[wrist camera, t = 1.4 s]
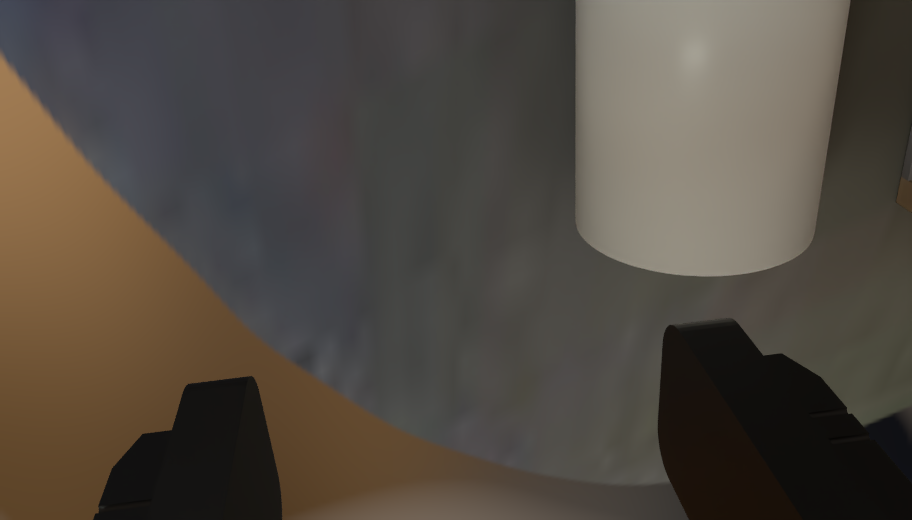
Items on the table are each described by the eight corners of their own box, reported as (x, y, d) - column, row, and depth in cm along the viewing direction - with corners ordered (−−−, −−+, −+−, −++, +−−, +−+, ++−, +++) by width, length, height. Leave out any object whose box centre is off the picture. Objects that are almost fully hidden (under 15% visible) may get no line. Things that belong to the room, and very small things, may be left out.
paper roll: (550, -142, 23) (618, -130, 17) (790, -161, 24) (941, -156, 17) (554, 189, 28) (608, 292, 22) (753, 168, 28) (861, 264, 22)
